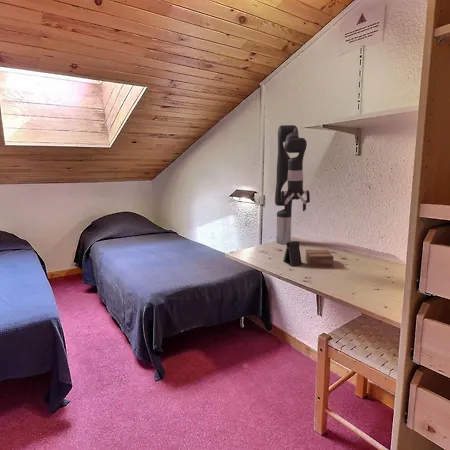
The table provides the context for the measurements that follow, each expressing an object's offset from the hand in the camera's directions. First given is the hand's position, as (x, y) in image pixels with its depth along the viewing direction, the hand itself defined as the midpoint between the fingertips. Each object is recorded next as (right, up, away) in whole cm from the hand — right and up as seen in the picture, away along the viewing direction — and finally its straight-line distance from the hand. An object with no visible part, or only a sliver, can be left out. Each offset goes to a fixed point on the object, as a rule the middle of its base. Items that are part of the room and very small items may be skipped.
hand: (295, 211), depth 181 cm
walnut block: (+14, -28, +8) cm, 32 cm away
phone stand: (0, -28, +9) cm, 29 cm away
